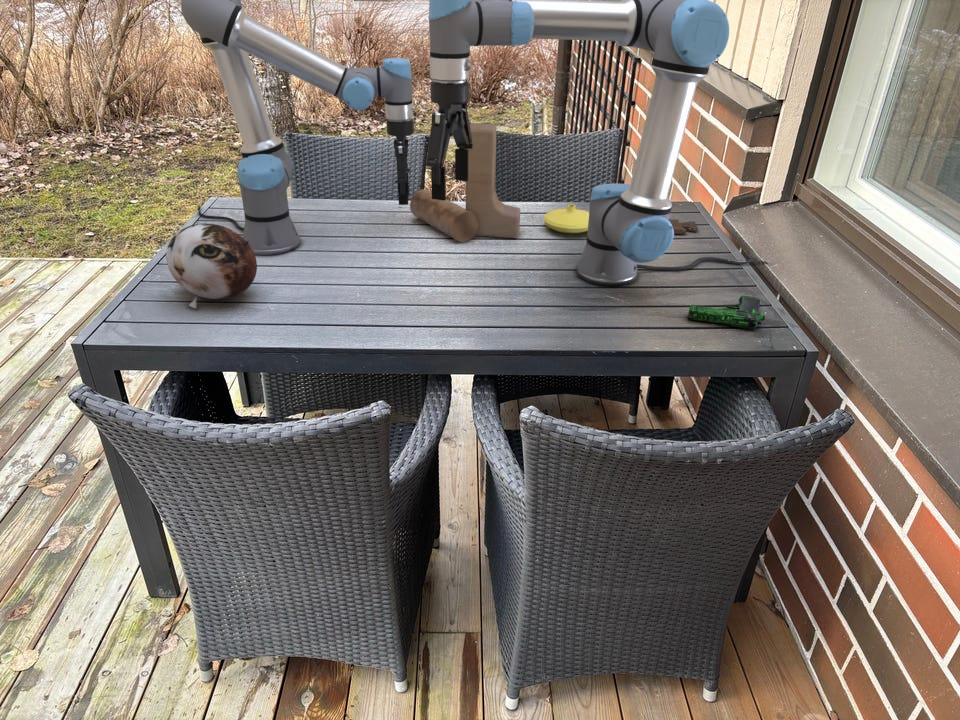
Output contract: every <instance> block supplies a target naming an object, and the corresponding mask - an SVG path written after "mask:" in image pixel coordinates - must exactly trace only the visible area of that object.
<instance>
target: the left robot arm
mask: <svg viewBox="0 0 960 720" xmlns="http://www.w3.org/2000/svg"><path fill="white" fill-rule="evenodd" d="M180 10H181V13H182V16H183V19H184V21H185V22H186V24H188V26H189V27H190V28H191V29H192V30H193V31H194V32H196V33H197V34H198V35H199V38H200V42H201V44H202V45H203V46H205V47H206V48H207V49H209V50H210V51H211V54H212V57H213V59H214V63H215V66H216V69H217V71H218V75H219V77H220V80H221V82H222V86H223V88H224V91H225V94H226V98H227V100H228V102H229V105H230V108H231V112H232V114H233V117H234V120H235V123H236V126H237V129H238V132H239V135H240V137H241V139H242V145H241V148H240V149H239V151H240V154H241V157H242V159H241V160H240V161H239V162H238V165H237V174H236V175H237V179H238V183H239V190H240V196H241V201H242V208H243V212H244V213H243V215H244V219H245V220H244V226H243V227H242V226H240V225H239V224H238V222H237V221H236V220H235V219H233V218H231V217H228V216H221V215H220V216H219V215H208V214H203V213H202V212H201V209H202V208H201V206H199V205H198V207H197V213H198V215H199V216H200V217H201V218H205V219H206V218H207V219H215V220H226V221H230V222H232V223H233V224H234V225H235V227H236V228H237V229H238V230H241V231H243V235H242V237H243V238H244V239H245V240H246V241H249V242H248V244H249V245H250V247H251V248H252V250H253V252H254V254H255V256H256V255H257V256H275V255H281V254H282V255H283V254H285V253H289V252H291V251H293V250H296V249H297V248H298V247H299V246H300V244H301V241H300V235H299V233H298V231H297V229H296V227H295V225H294V223H293V220H292V218H291V216H290V207H289V200H288V188H289V186H290V183H291V181H292V179H293V177H294V176H293V175H294V163H293V161H292V158H291V157H290V154H289V153H288V152H287V151H286V149H285V145H284V143H283V140H282V138H280V137H279V136H277V135H275V133H274V130H273V127H272V123H271V120H270V116H269V114H268V110H267V108H266V105H265V102H264V99H263V96H262V93H261V89H260V87H259V83H258V80H257V77H256V73H255V70H254V68H253V65H252V62H251V59H250V55H249V54H251V55H252V56H254V57H256V58H258V59H261V60H262V61H264V62H266V63H268V64H270V65H272V66H274V67H276V68H278V69H280V70H282V71H284V72H286V73H288V74H290V75H292V76H294V77H296V78H298V79H300V80H302V81H304V82H306V83H308V84H309V85H312V86H314V87H316V88H318V89H319V90H321V91H324V92H325V93H328V94H329V95H332V96H333V97H335V98H337V99H339V100H341V101H343V102H344V103H345V104H346V105H347V106H348V107H349V108H350V109H352V110H355V111H364V110H366V109H368V108H369V107H370V106H371V104H372V103H373V101H374V100H375V98H384V111H385V118H386V119H387V120H386V121H385V122H386V125H385V126H386V133H387V135H389V136H391V137H395V139H393V148H394V156H395V159H396V176H397V178H396V179H395V180H394V183H395V184H397V193H398V194H397V195H398V197H397V198H398V205H399V206H408V205H409V196H410V186H409V185H410V184H409V183H410V182H409V173H411V168H408V167H409V164H408V157H409V155H408V153H409V139H407V136H408V137H409V136H412V135H413V134H414V133H415V123H414V122H415V121H414V119H413V118H414V111H415V110H416V106H413V77H412V64H411V62H410V61H409V59H408V58H402V57H392V58H391V57H390V58H389V57H388V58H385V59H383V60H382V65H381V66H379V67H378V66H377V67H353V66H349V67H346V66H344V65H342V64H340V63H338V62H337V61H335V60H333V59H331V58H329V57H327V56H326V55H323V54H321V53H320V52H318V51H316V50H314V49H312V48H310V47H308V46H306V45H304V44H303V43H301V42H298V41H297V40H294V39H293V38H291V37H289V36H287V35H285V34H283V33H281V32H280V31H278V30H276V29H274V28H272V27H270V26H268V25H267V24H264V23H263V22H260V21H258V20H257V19H255V18H253V17H251V16H249V15H248V14H247V12H246V10H245V8H243V4H242V0H180ZM199 210H200V211H199ZM198 211H199V212H198Z"/></svg>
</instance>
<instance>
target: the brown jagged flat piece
mask: <svg viewBox="0 0 960 720" xmlns="http://www.w3.org/2000/svg"><path fill="white" fill-rule="evenodd" d="M668 221H670V222H671V224H672V227H673V229H674V234H682V235H683V234H685V233H687V231H689V232H694V233H696V232H697V231H698V229H697V228H698V227H697V223H696V221H692V220H691V221H686V222H685V221H684V222H680V219H671V218H669V220H668ZM689 228H691V229H689ZM694 229H697V230H694Z"/></svg>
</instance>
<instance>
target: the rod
mask: <svg viewBox="0 0 960 720" xmlns="http://www.w3.org/2000/svg"><path fill="white" fill-rule="evenodd" d="M409 209H410V212H411V215H413V216H414V217H415V218H417V219H419V220H421V221H422V222H424V223H426V224H428V225H429V226H431V227H433V228H434V229H436V230H437V231H440V232H441V233H443V234H445V235H447V236H448V237H451V238H452V239H454V240H456V241H457V242H459V243H467V242H469V241H471V240H472V239H473V238H474V237H476V236H475V234H476V232H477V230H478V218H477V216H476V215H475V214H474V213H472V212H470V211H468V210H467V209H466V207H465V208H464V207H463V206H461V205H459V204H457V203H454V202H453V201H451V200H449V199H447V198H446V200H445V201H444V200H436V199H432V190H430V189H426V188H423V189H418V191H416V192H415V193H414V194H413V195H412V197H411V199H410V203H409Z"/></svg>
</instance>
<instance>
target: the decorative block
mask: <svg viewBox="0 0 960 720" xmlns="http://www.w3.org/2000/svg"><path fill="white" fill-rule="evenodd" d="M470 129H471V135H472V143H471V144H473V148H472V149H467V150H468V181H465V209H467V210H468V211H470V212H472V213H474V214H475V215H476V216H477V218H478V230H477V232H476V234H475V236H474V237H490V238H491V237H492V238H503V239H504V238H506V239H517V238H518V236H519V232H520V227H521V225H520V224H521V208H520V207H517V206H513V205H507V204H505V203H504V202H502V201H501V200H500V199H499V196H498V194H497V191H496V169H497V168H496V167H497V166H496V165H497V130H498V129H497V124H495V123H478V122H477V123H476V122H471V123H470Z"/></svg>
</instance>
